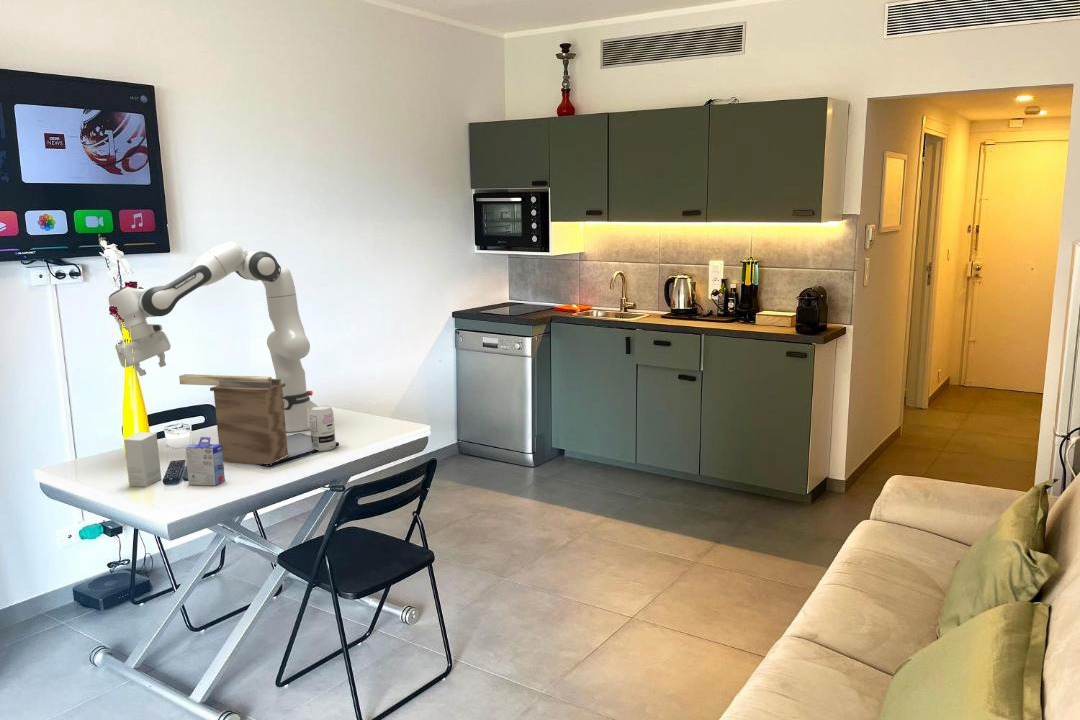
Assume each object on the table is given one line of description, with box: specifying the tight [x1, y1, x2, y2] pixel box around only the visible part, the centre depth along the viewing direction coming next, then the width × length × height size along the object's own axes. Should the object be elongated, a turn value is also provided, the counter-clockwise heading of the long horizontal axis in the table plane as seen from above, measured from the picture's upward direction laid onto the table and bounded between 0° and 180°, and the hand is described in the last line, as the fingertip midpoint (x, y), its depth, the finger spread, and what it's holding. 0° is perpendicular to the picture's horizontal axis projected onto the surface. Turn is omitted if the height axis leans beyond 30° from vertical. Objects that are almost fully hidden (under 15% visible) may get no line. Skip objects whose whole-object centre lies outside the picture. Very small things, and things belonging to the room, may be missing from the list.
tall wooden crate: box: [209, 378, 289, 466], centre depth 287 cm, size 11×22×28 cm, turn 73°
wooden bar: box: [178, 373, 273, 387], centre depth 287 cm, size 3×35×3 cm, turn 73°
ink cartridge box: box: [185, 436, 226, 486], centre depth 263 cm, size 10×6×14 cm, turn 78°
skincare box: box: [123, 431, 162, 488], centre depth 265 cm, size 8×7×16 cm
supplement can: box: [309, 405, 337, 452], centre depth 299 cm, size 8×8×15 cm
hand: (153, 370), depth 292 cm, fingers open, 8 cm apart
